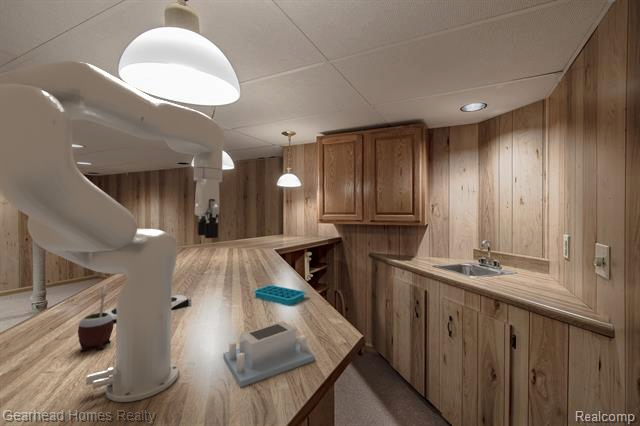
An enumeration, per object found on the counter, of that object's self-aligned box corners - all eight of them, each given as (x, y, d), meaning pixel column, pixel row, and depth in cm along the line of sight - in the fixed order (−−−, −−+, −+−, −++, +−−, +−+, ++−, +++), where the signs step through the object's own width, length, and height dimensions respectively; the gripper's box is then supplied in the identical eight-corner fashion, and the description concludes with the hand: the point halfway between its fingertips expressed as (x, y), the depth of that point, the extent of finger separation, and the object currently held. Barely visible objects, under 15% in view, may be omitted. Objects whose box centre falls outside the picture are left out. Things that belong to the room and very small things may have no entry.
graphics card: (191, 298, 100) (106, 316, 82) (191, 307, 100) (106, 327, 82) (182, 292, 107) (102, 307, 89) (182, 300, 107) (102, 317, 90)
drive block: (251, 369, 58) (252, 343, 58) (239, 357, 63) (239, 334, 63) (296, 350, 66) (296, 328, 66) (282, 341, 71) (282, 320, 71)
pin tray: (240, 387, 54) (240, 364, 54) (223, 357, 65) (223, 338, 65) (314, 360, 64) (315, 340, 64) (289, 338, 75) (289, 322, 75)
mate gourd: (85, 357, 65) (85, 294, 64) (71, 348, 68) (72, 289, 68) (120, 344, 71) (121, 287, 71) (106, 337, 75) (106, 283, 75)
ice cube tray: (270, 291, 121) (270, 284, 121) (307, 299, 111) (307, 292, 111) (251, 298, 111) (251, 291, 111) (290, 307, 101) (290, 299, 100)
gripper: (188, 178, 81) (188, 234, 81) (199, 171, 67) (198, 239, 67) (214, 180, 86) (214, 233, 86) (230, 174, 71) (229, 238, 71)
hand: (207, 236), depth 76 cm, fingers open, 9 cm apart
